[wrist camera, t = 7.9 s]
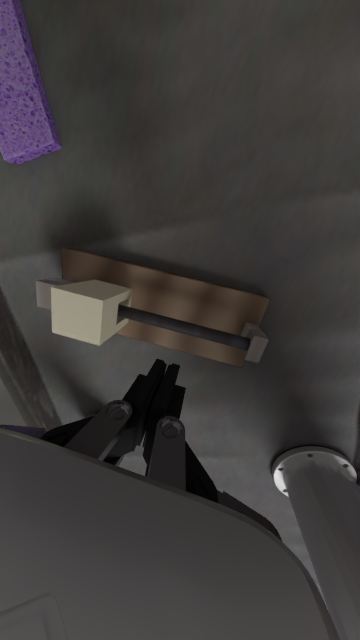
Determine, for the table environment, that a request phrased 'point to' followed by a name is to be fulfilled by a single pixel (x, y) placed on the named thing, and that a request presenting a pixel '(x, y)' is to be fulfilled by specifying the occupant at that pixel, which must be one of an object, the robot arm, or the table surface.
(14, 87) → the sponges
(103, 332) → the cream foam block
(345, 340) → the table surface
